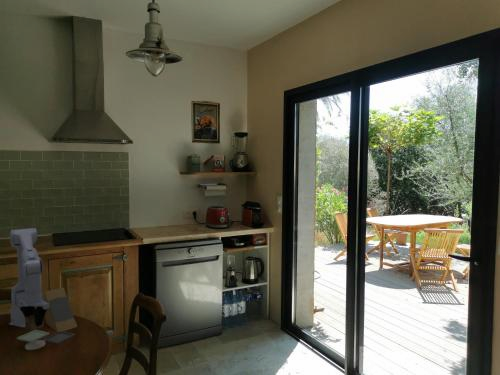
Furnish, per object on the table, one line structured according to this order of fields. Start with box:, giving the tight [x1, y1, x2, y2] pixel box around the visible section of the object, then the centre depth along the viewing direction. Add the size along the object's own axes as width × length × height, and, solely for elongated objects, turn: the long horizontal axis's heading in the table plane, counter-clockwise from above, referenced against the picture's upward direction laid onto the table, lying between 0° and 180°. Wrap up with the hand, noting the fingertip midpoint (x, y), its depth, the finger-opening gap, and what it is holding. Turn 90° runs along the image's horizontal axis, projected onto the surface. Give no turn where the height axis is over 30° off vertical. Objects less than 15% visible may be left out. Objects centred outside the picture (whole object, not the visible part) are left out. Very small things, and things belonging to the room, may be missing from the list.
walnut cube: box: [24, 314, 45, 331], centre depth 151 cm, size 4×4×5 cm
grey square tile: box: [42, 331, 76, 345], centre depth 158 cm, size 8×8×1 cm
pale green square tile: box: [16, 329, 50, 343], centre depth 160 cm, size 8×8×1 cm
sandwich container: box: [44, 287, 78, 333], centre depth 171 cm, size 9×15×15 cm, turn 46°
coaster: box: [24, 339, 46, 351], centre depth 152 cm, size 7×7×1 cm
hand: (34, 324), depth 151 cm, fingers closed on walnut cube, 4 cm apart
